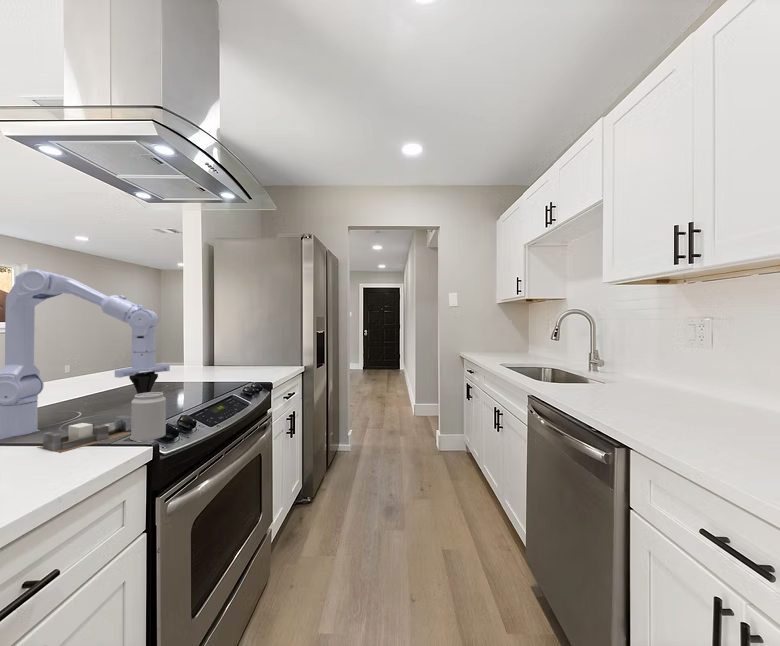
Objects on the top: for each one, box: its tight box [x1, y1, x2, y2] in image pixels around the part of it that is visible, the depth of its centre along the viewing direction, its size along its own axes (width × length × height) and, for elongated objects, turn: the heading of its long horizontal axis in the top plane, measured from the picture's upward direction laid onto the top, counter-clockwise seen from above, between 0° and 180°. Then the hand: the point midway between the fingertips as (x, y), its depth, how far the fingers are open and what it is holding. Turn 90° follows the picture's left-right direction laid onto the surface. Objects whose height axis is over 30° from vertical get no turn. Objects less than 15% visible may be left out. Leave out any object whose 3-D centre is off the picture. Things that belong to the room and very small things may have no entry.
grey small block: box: [94, 415, 131, 433], centre depth 97 cm, size 4×8×3 cm, turn 159°
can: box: [130, 391, 167, 442], centre depth 95 cm, size 8×8×12 cm
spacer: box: [67, 422, 93, 441], centre depth 91 cm, size 4×3×4 cm
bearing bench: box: [36, 422, 131, 454], centre depth 92 cm, size 9×16×4 cm, turn 159°
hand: (143, 399), depth 105 cm, fingers closed
